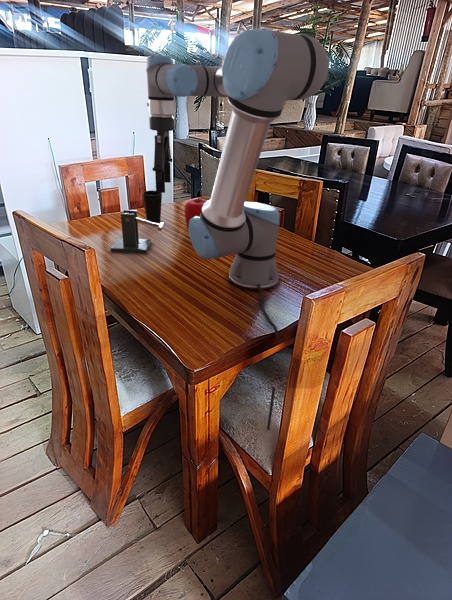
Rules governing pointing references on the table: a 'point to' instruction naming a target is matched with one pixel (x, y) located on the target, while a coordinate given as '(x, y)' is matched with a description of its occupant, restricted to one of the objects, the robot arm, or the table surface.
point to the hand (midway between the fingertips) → (163, 187)
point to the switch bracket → (130, 236)
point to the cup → (152, 205)
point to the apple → (193, 209)
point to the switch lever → (149, 222)
